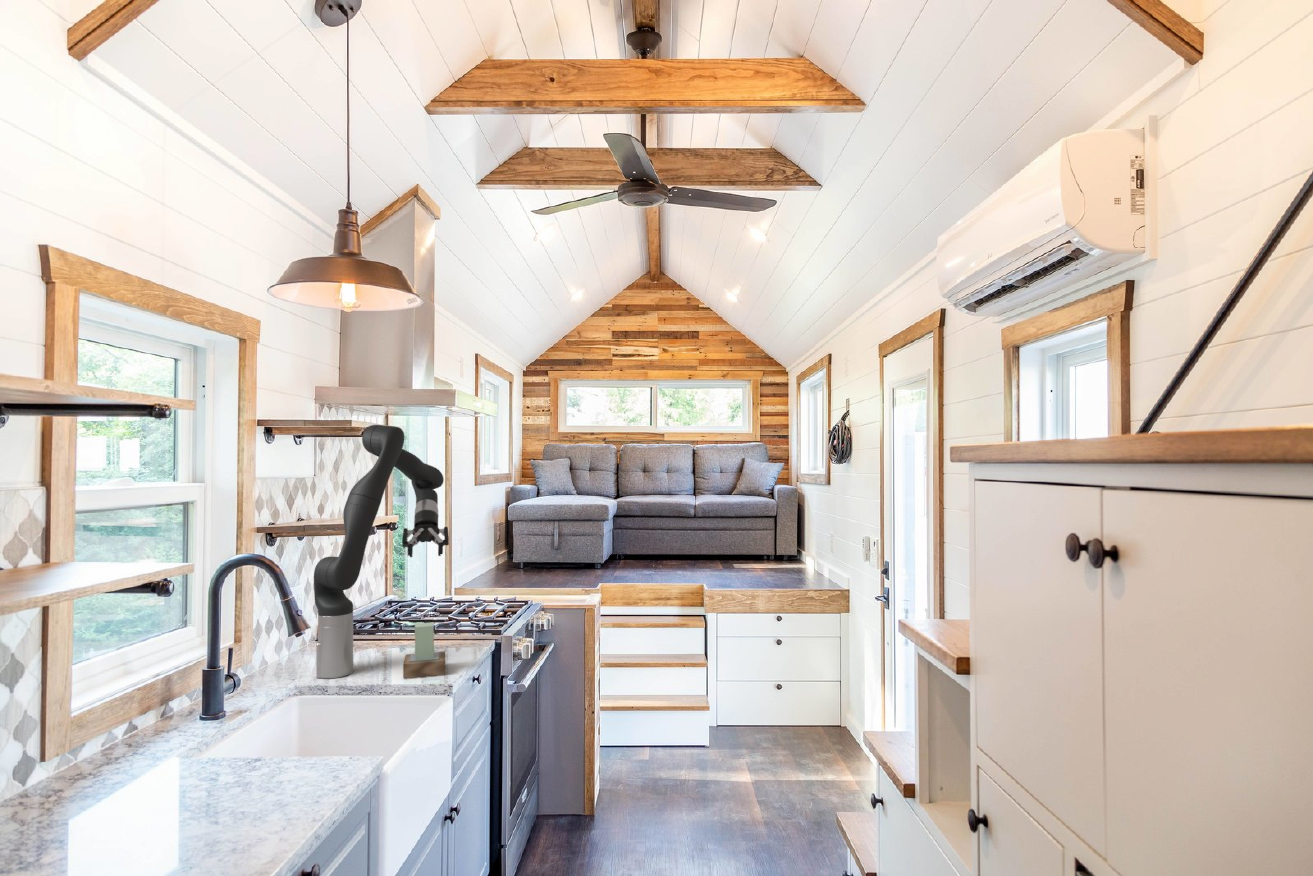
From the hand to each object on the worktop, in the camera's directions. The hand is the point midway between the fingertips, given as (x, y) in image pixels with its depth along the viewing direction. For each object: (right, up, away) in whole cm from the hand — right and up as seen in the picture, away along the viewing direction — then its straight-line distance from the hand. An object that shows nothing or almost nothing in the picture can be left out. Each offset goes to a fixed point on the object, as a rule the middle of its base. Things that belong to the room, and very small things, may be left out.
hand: (425, 555), depth 226 cm
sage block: (+7, -25, -22) cm, 34 cm away
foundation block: (+7, -30, -22) cm, 38 cm away
